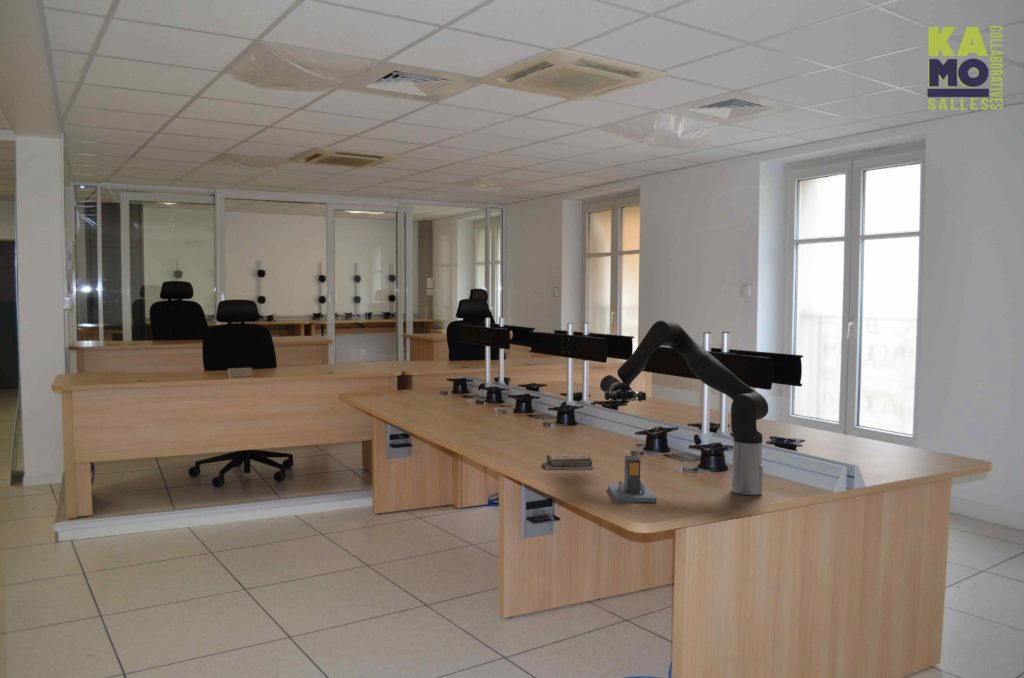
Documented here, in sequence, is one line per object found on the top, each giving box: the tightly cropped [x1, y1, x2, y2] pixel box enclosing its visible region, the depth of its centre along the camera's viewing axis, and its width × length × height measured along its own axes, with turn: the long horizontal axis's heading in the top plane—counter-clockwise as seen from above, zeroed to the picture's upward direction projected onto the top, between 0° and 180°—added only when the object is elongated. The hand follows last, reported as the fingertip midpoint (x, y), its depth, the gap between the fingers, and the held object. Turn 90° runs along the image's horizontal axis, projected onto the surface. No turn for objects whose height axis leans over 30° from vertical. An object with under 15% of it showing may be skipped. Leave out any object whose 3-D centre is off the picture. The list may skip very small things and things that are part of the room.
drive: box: [623, 455, 641, 494], centre depth 245 cm, size 4×6×11 cm, turn 1°
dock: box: [607, 479, 657, 504], centre depth 245 cm, size 13×16×4 cm
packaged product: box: [542, 453, 594, 470], centre depth 288 cm, size 18×5×10 cm
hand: (628, 398), depth 260 cm, fingers open, 8 cm apart
